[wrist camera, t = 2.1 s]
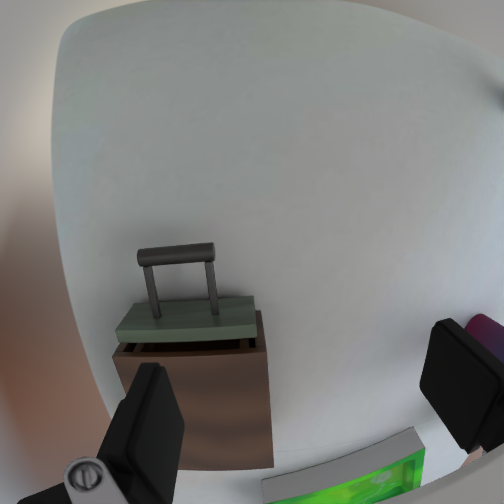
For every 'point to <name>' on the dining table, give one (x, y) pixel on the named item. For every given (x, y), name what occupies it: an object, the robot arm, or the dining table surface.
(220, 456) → the cabinet
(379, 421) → the dining table surface
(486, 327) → the cup
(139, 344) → the drawer
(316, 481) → the tray
